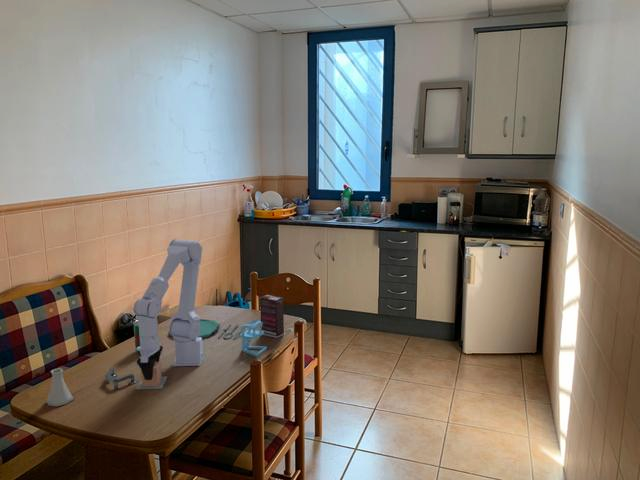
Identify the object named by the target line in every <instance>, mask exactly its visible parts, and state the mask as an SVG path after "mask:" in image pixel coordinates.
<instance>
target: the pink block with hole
mask: <svg viewBox="0 0 640 480" xmlns="http://www.w3.org/2000/svg"><path fill="white" fill-rule="evenodd" d="M140 376H141V380H142V386H158V385H159V383H160V381H161V379H162V377H163V376H162V362H161V361H159V362H155V364H154V367H153V377H152V380H145V379H144V376H143V373H142V370H141V369H140Z"/></svg>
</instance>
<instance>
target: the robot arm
mask: <svg viewBox="0 0 640 480" xmlns="http://www.w3.org/2000/svg"><path fill="white" fill-rule="evenodd" d="M166 248H167V257H166V258H165V261H164V263H163V265H162V267H161V270H160V272H159V274H158V276H156V277H153V278H152V280H151V281H150V283H149V284H148V287H147V289H145V292H144V293H143V296H142V297H140V298H139V299H137V300H136V301H135V303H134V306H133V308H132V310H133V313H134V314H135V316H136V320H138V321H139V335H140V347H137V351H140V353H141V354H140V358H137V360H136V364H137V366H139V368H140V371H141V370H142V373H143V376H144V379H145V380H152V377H153V367H154V364H155V362H160V359H161V354H162V351H163V348H164V347H163V345H160V339H159V337H160V336H159V323H158V315H159V314H160V312H161V311H162V304H163V298H164V297H165V294H166V293H167V291H168V289H169V288H170V287H169V286H170V285H169V280H170V278H171V277H172V275H173V274H174V272H175V271H176V269H177V268H178V266H179V265H180V264H181V265H182V266H183V271H182V278H181V284H180V285H181V287H180V295H179V304H178V310H177V311H176V312H175V313H174V314H172V315H171V320H170V323H169V326H168V333H169V332H170V334H171V335H172V336H171V337H172V339H174V347H175V349H174V350H175V359H174V361H173V364H172V367H190V366H192V367H193V366H194V367H195V366H196V367H197V366H199V367H200V366H202V365H201V364H202V361H203V359H204V344H203V343H204V342H203V338H200V337H198V335H199V334H200V319H201V317H200V316H199V315H198V314H197V313H196V312H195V306H196V305H195V304H196V296H197V290H198V289H197V288H198V287H197V286H198V281H199V270H200V264H201V263H202V262H201V261H202V251H203V247H202V245H201V243H200V242H199V241H198V240H189V239H188V240H187V239H179V238H173V239H171V241H170V242H169V244H168V247H166Z"/></svg>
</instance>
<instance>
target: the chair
mask: <svg viewBox="0 0 640 480" xmlns="http://www.w3.org/2000/svg"><path fill="white" fill-rule="evenodd" d="M247 322H248V323H247V324H243V325H240V328H241V329H242V332H241V333H240V336H239V338H241V350H240V351H241V352H243V353H246V354H247V355H250V356H252V357H253V356H254V357H256V358H257V357H259V356H260V355H261V354H263V353H264V352H265V351H266V350H267V348H268V347H267V346H263V345H250V344H251V341H252V340H254V341H256V340H257V339H258V338H259V337H261V336H264V335H263V334H264V332H263V331H262V330H261V328H262V324H263V323H262V322H261V320H259V319H258V320H257V319H253V320H250V321H247ZM258 327H259V330H257V328H258ZM243 328H244V329H243ZM245 328H247V330H246V331H245ZM241 329H240V330H241ZM252 350H259V351H258V352H254V351H252Z"/></svg>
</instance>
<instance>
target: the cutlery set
mask: <svg viewBox="0 0 640 480" xmlns="http://www.w3.org/2000/svg"><path fill="white" fill-rule="evenodd" d="M234 325H235V326H234V327H233V328H232V329H231V331H230V332H228V329H229V328H230V327H231V326H232V325H231V324H229V325H228V326H227V327H225V328H224V329H223V331H222V332H221V333H219V335H218V337H217V338H218V339H220V338H221V337H222V336H223V335H224V336H223V338H224V339H231V338H232V337H233V338H232V340H238V339H239V338H240V335H241V334H242V329H240V330H239V331H238V332H237V333H235V334H233V333H234V331H235V330H236V329H237V328H238V327H239V324H234ZM220 326H221V324H220V323H219V322H217V321H216V320H210V319H201V318H200V334H199V335H198V337H200V338H202V339H204V338H208V337H210V336H211V335H213V334H214V333H216V332H217V331H218V330H219V328H220ZM243 329H244V330H245V328H243ZM227 332H228V333H227ZM225 333H226V334H225ZM168 335H169V336H170V337H173V336H172V335H171V334H170V332H169V331H168ZM227 336H230V337H227ZM226 337H227V338H226Z"/></svg>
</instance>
